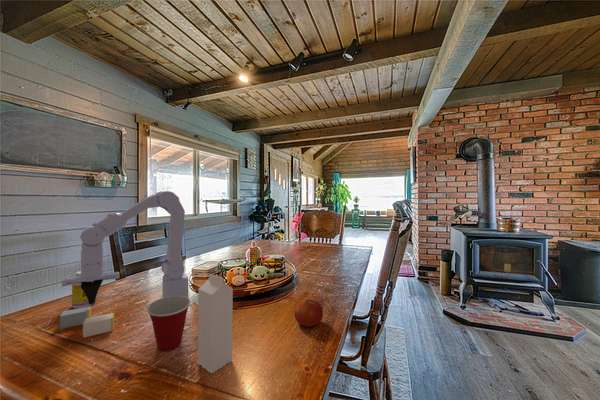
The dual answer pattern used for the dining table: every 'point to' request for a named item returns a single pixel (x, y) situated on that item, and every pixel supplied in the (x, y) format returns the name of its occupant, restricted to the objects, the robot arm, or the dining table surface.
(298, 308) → the tomato
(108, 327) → the cream block
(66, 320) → the grey block
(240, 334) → the dining table surface
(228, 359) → the milk
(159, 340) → the plastic cup
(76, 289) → the supplement bottle
